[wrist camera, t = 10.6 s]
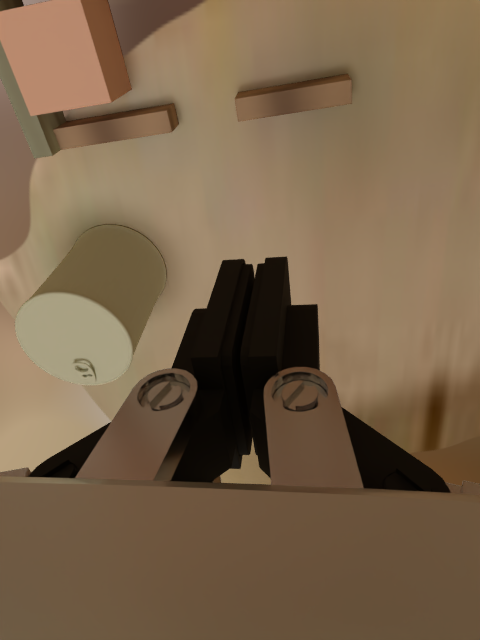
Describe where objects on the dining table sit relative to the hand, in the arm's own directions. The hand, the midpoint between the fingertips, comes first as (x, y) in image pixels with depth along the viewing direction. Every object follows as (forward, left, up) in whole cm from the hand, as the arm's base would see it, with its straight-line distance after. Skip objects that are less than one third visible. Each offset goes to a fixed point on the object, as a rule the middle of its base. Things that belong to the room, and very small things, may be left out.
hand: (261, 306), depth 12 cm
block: (+14, -6, -27) cm, 31 cm away
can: (+17, +12, -27) cm, 35 cm away
